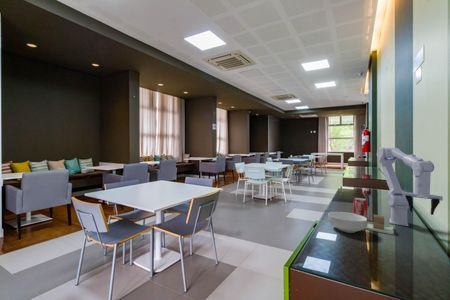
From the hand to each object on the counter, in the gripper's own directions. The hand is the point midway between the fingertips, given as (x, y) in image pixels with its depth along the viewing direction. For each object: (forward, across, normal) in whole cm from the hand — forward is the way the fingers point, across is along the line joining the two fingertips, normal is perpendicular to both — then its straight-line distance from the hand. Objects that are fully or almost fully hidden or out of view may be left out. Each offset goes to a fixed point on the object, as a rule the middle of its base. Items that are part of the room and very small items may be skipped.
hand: (421, 212), depth 108 cm
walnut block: (+10, -17, -7) cm, 21 cm away
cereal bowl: (+10, -30, -20) cm, 37 cm away
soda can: (+10, -26, +5) cm, 28 cm away
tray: (+10, -17, -7) cm, 21 cm away
